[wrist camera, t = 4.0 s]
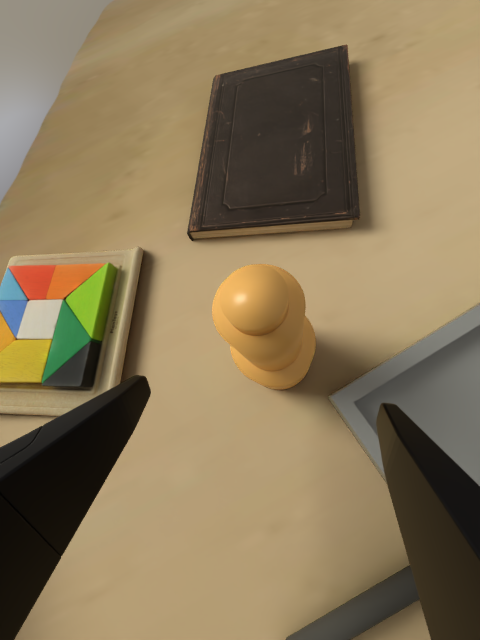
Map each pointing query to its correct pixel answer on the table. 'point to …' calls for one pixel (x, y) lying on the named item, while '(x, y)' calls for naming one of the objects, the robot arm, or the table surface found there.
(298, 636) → the rod
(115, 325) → the wooden puzzle
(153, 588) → the table surface
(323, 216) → the hardcover book
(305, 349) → the orange rounded stepped post
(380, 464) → the grey square tray
